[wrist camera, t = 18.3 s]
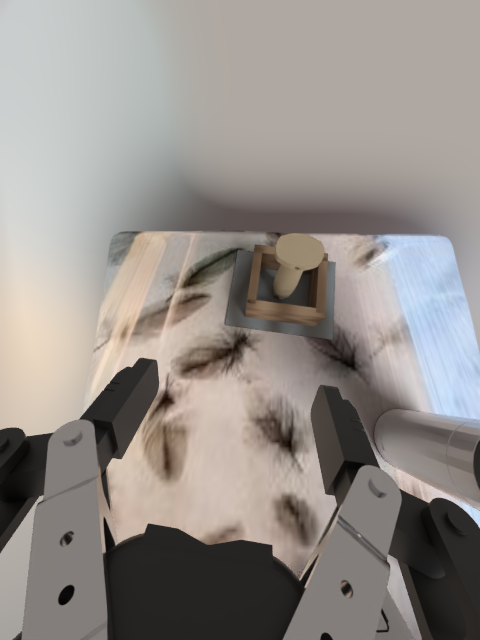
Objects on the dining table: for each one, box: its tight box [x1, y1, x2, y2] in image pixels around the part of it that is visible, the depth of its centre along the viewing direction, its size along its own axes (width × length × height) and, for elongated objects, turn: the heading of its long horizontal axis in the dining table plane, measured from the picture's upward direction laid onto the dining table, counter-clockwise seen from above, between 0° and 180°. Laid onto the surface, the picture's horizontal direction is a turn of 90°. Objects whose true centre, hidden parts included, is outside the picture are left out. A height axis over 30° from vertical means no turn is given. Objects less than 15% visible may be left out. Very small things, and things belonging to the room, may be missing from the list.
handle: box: [273, 233, 324, 300], centre depth 38 cm, size 5×6×15 cm
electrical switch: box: [374, 589, 415, 640], centre depth 29 cm, size 9×5×9 cm, turn 92°
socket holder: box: [225, 245, 336, 340], centre depth 43 cm, size 20×16×6 cm
